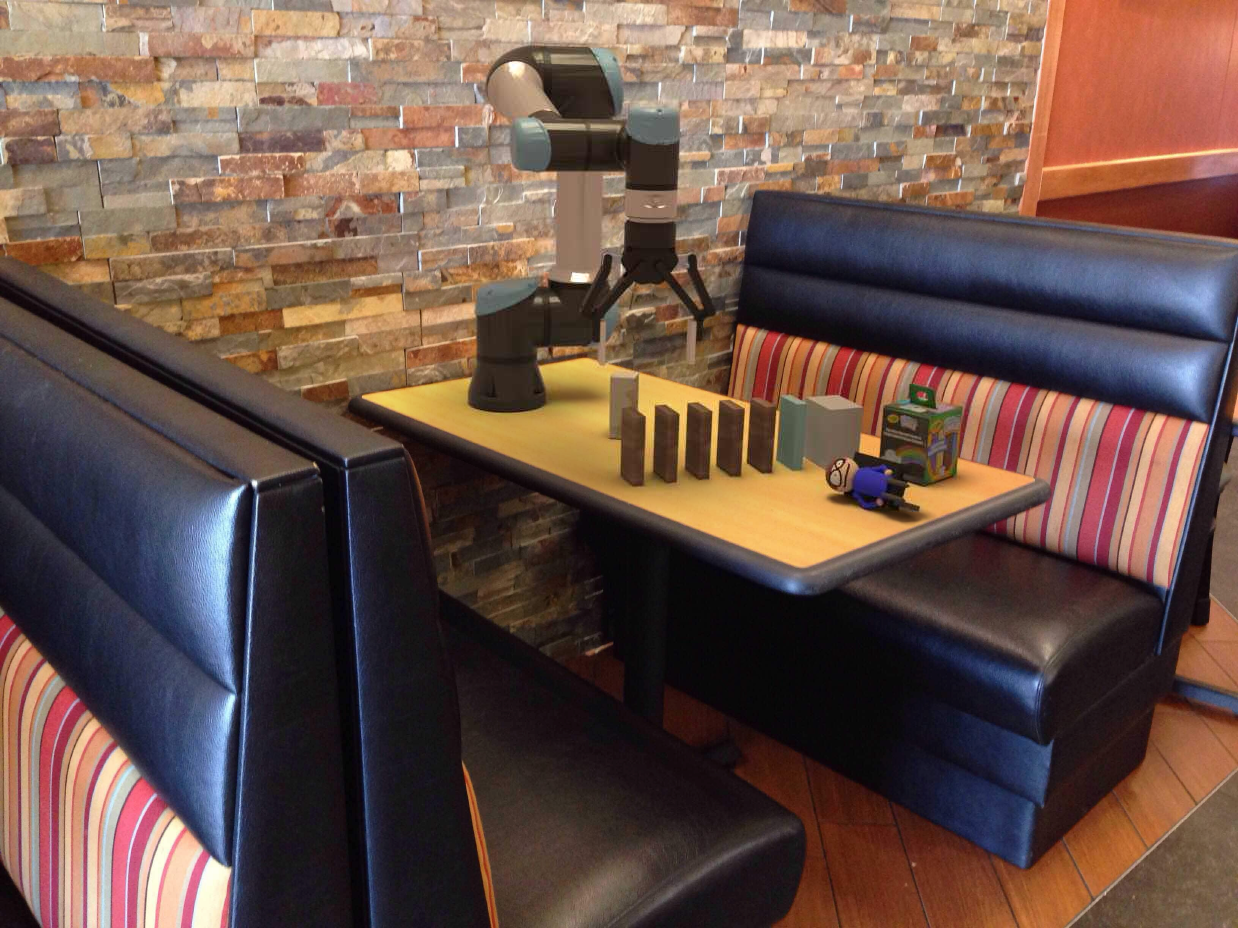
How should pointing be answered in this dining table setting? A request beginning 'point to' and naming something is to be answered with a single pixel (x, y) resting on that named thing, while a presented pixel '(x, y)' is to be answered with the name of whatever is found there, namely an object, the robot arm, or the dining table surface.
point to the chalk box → (922, 435)
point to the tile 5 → (761, 435)
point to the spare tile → (791, 432)
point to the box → (622, 398)
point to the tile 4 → (730, 437)
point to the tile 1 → (633, 446)
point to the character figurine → (872, 481)
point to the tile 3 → (698, 440)
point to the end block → (831, 429)
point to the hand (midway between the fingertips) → (646, 363)
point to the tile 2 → (666, 443)
